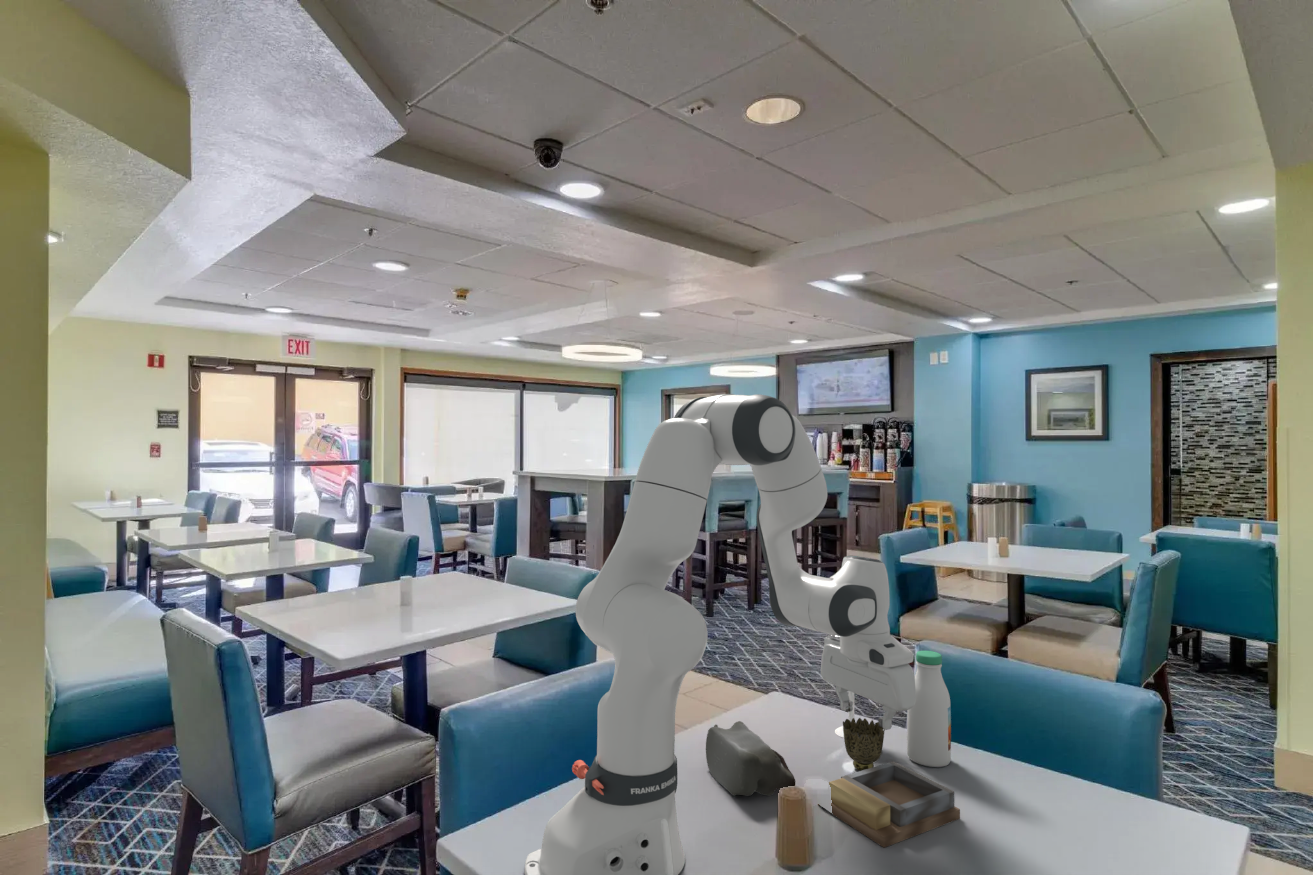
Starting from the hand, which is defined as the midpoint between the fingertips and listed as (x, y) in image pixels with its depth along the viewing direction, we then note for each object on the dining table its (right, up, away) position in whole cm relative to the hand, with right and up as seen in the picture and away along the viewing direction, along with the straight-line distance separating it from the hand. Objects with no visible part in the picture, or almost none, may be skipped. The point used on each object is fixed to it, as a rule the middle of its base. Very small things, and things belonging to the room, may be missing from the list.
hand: (865, 719), depth 128 cm
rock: (-22, -9, -4) cm, 24 cm away
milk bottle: (+13, -9, +4) cm, 17 cm away
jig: (-1, -9, -16) cm, 18 cm away
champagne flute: (+2, -10, +16) cm, 19 cm away
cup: (0, -9, 0) cm, 9 cm away
